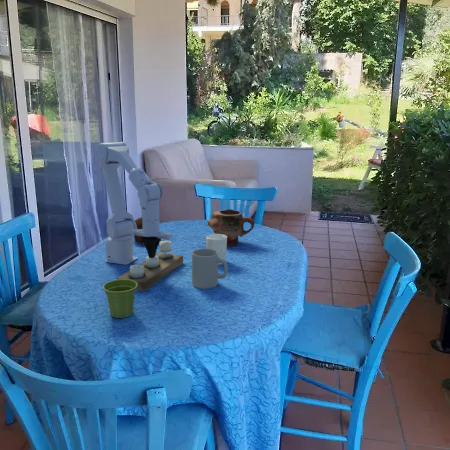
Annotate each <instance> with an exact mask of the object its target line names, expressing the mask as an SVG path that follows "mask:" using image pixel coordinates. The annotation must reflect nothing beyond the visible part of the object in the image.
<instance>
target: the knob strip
mask: <svg viewBox="0 0 450 450" xmlns="http://www.w3.org/2000/svg"><path fill="white" fill-rule="evenodd" d="M155 256H158V257H159V266H158V267H155V268H149V267H146V260H144V261H143V262H141V263H140V265H143V266H144V276H143V277H140V278H133V277H131V276H130V269H129V270H128V271H126V272H125V273H123V274H122V275H120V276H119V277H116V278H117V279H116V280H118V279H128V280H133V281H135V282H137V284H138V286H137V288H136V291H141V292H146V291H147V290H148V289H150V288H151V287H153V286H154V285H155V284H158V282H160V281H161V280H162V279H163V278H165V277H166V276H168V275H169V274H171V273H172V272H173V271H174V270H176V269H178V268H179V267H180V266H182V265H183V264H184V255H182V254H181V255H179V254H174V253H168V252H161V251H159V252H156V255H155Z"/></svg>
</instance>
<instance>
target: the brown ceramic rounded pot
mask: <svg viewBox="0 0 450 450" xmlns="http://www.w3.org/2000/svg"><path fill="white" fill-rule="evenodd" d="M245 223H249V224H250V228H249V229H248V230H245V229H244V226H245V225H244V224H245ZM255 225H256V224H255V222H254V219H252V218H251V217H248V216H243V214H242V212H240V211H238V210H235V209H231V208H230V209H222V210H216V211H214V212H213V213H212V215H211V217H210V219H208V220H207V226H208V227H209V228H211V230H212V231H213V234H223V235H226V236H227V247H234V246H237V245H238V243H239V237H240V238H242V237H244V236H245V235H248V234H250V232H251V231H253V229H254V227H255Z"/></svg>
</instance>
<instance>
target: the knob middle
mask: <svg viewBox="0 0 450 450" xmlns="http://www.w3.org/2000/svg"><path fill="white" fill-rule="evenodd" d="M145 261H146V267H149V268H155V267H158V266H159V257H158V256H155V257H153V258H149V256H148V255H147V256H145Z"/></svg>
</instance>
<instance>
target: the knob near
mask: <svg viewBox="0 0 450 450" xmlns="http://www.w3.org/2000/svg"><path fill="white" fill-rule="evenodd" d="M140 264H141V263H140ZM140 264H137V263H136V264H133V265H130V266H129V270H130V276H131V277H133V278H140V277H143V276H144V266H143V265H140Z"/></svg>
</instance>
